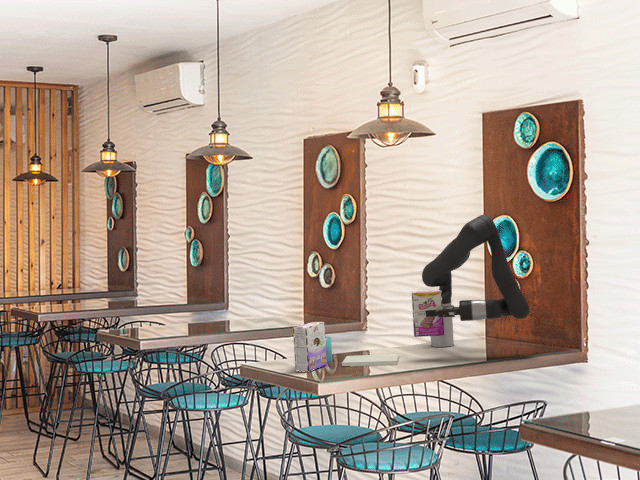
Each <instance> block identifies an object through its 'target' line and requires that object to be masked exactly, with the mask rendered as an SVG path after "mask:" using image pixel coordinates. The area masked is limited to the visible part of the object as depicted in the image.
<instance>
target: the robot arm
mask: <svg viewBox="0 0 640 480" xmlns="http://www.w3.org/2000/svg"><path fill="white" fill-rule="evenodd" d="M486 242H487V243H488V245H489V248H490V255H491V274H492V278H493V280H494V282H495V285H496V286H497V288H498V291H499V293H501V295H502V297H503V298H498V299H465V300H464V299H462V300H459V302H458V304H459V305H458V306H455V305H453V304H452V297H453V296H452V295H453V293H452V289H453V287H452V284H453V282H452V281H453V280H452V277H453V276H452V272H453V271H455V270H457V269H459V268H461V267H462V266H463V265H464V264H466V262H467V261H468V260H469V258H470V256H471V251H473V250H474V249H476V248H477V247H479V246H481V245H483V244H484V243H486ZM421 281H422V282H423V284H424V285H425V286H427V287H429V288H436V287H439V289H438V290H441V291H442V303H443V308H442V309H439V310H438V309H437V310H427V311H426V316H427V317H431V316H437V317H443V321H444V335H443V336H429V337H430V346H431V347H433V348H445V347H452V346H455V345H454V343H455V340H454V339H455V338H454V325H453V318H455V317H456V316H459V318H460V319H459V321H461V322H469V321H483V320H493V319H501V318H502V317H509V316H510V317H511V316H512V317H513V318H515V319H518V320H523V319H526V318H527V317H528V316H529V314H530V311H531V309H530V304H529V303H528V301H527V298H526V297H525V296H524V294H523V291H522V290H521V288H520V286H519V282H518V281H517V279H516V276H515V275H514V273H513V270H512V269H511V266H510V264H509V262H508V259H507V256H506V253H505V250H504V246H503V243H502V240H501V237H500V233H499V231H498V228H497V225H496V224H495V221H494V220H493V219H492V217H490V216H489V215H487V214H481V215H478V216H476V217H475V218H473V219H471V220H469V221H468V222H466V223H465V224H464V225H463V227H462V228H461V229H460V231H459V233H458V234H457V236H456V237H454V239H452V241H450V242H449V243H448V244H447V246H445V247H444V248H443V250H442V251H441V252H440V253H439V254H437V256H436V257H435V258H434V259H433V260H431V261H430V262H429V263H428V264H426V265H425V266H424V268H423V270H422V273H421ZM441 312H442V314H441Z"/></svg>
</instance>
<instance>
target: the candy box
mask: <svg viewBox="0 0 640 480" xmlns="http://www.w3.org/2000/svg"><path fill="white" fill-rule="evenodd" d="M292 331H293V332H292V333H293V334H292V335H293V348H294V349H293V351H294V365H295V367H294V368H295V371H296V370H299V371H310V370H313V369H317V368H319V369H321V368H320V367H322V368H325V367H327V366H328V362H327V351H326V337H327V335H326V327H325V322H324V321H312V322H308V323H305V324H300V325H297V326H293V327H292ZM317 370H318V369H317Z"/></svg>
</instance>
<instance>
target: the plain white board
mask: <svg viewBox="0 0 640 480" xmlns="http://www.w3.org/2000/svg"><path fill="white" fill-rule="evenodd" d="M399 361H400V354H399V353H393V354H391V353H390V354H368V355H366V354H365V355H361V354H360V355H346V357H345V358H344V359H343V361H342V362H341V367H342V366H350V367H369V366H370V367H374V366H376V365H377V366H378V367H379V366H396V365H397V366H398V363H399ZM377 366H376V367H377Z"/></svg>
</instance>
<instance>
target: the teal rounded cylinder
mask: <svg viewBox="0 0 640 480" xmlns="http://www.w3.org/2000/svg"><path fill="white" fill-rule="evenodd" d="M332 344H333V343H332V337H331V336H326V351H327V363H332V362H333V350H332V349H333V347H332Z"/></svg>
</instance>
